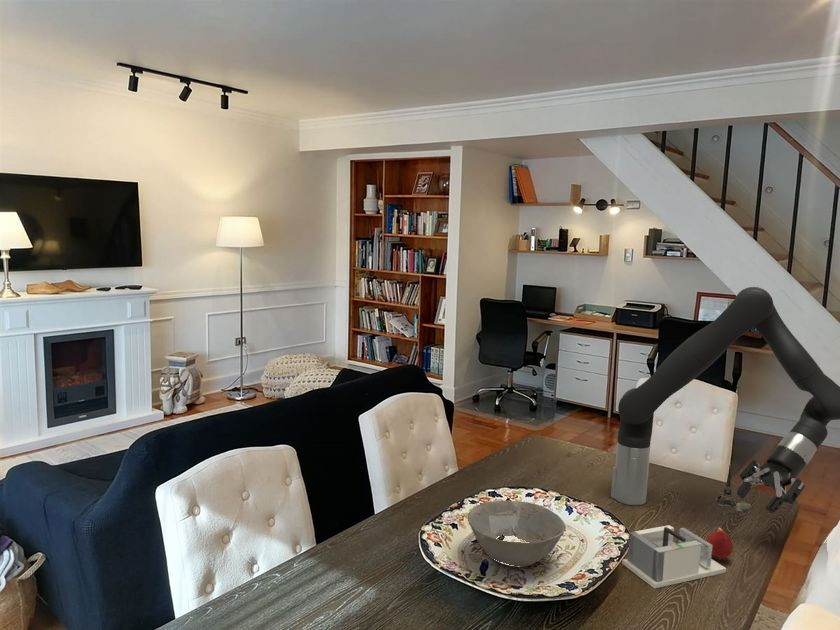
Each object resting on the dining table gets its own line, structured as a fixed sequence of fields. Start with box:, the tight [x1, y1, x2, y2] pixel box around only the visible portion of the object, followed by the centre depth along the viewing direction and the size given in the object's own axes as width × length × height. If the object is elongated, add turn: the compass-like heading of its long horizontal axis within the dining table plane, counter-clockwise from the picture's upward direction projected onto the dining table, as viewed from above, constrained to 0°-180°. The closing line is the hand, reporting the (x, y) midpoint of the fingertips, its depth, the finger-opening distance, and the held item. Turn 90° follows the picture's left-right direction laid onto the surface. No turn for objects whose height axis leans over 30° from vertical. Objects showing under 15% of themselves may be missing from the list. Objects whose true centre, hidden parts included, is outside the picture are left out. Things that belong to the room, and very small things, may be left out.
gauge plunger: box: [652, 527, 713, 568], centre depth 146 cm, size 11×10×9 cm
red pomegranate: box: [705, 527, 734, 560], centre depth 151 cm, size 6×6×8 cm
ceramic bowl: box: [467, 499, 567, 567], centre depth 149 cm, size 22×23×10 cm
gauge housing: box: [621, 524, 727, 590], centre depth 147 cm, size 21×11×8 cm, turn 111°
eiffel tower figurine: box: [715, 461, 752, 515], centre depth 183 cm, size 15×10×13 cm
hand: (753, 503), depth 154 cm, fingers open, 8 cm apart
